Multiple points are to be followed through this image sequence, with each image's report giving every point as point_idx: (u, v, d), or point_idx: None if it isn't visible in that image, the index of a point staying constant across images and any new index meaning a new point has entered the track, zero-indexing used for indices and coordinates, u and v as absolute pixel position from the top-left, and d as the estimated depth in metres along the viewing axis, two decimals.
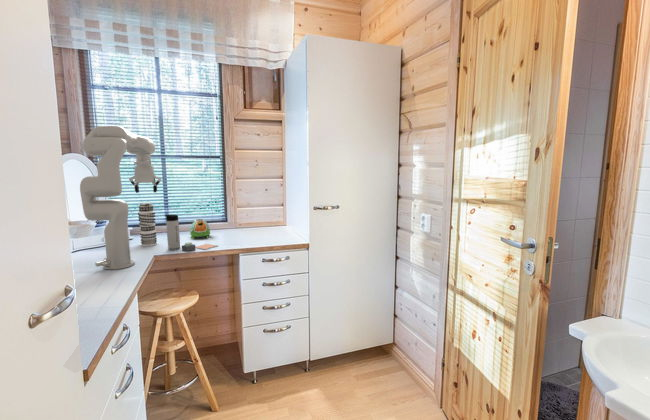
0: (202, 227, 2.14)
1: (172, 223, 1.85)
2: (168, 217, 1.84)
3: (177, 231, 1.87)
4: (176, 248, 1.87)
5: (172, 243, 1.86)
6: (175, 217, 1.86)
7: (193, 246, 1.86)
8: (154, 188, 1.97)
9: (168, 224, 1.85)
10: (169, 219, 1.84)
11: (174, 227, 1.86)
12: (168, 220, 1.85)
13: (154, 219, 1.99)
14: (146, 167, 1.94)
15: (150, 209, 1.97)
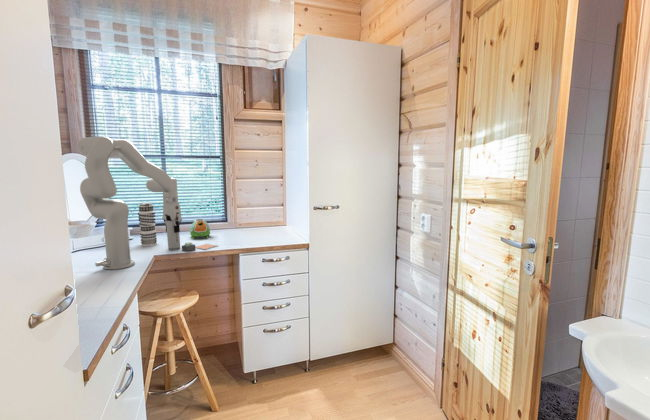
0: (202, 227, 2.14)
1: (172, 223, 1.85)
2: (168, 217, 1.84)
3: None
4: (176, 248, 1.87)
5: (172, 243, 1.86)
6: None
7: (193, 246, 1.86)
8: None
9: (168, 224, 1.85)
10: (169, 219, 1.85)
11: None
12: (168, 220, 1.85)
13: (154, 219, 1.99)
14: None
15: (150, 209, 1.97)
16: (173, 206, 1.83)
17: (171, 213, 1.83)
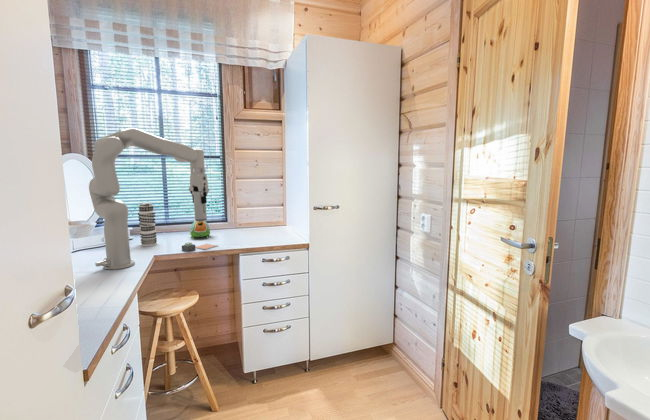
0: (202, 227, 2.14)
1: (200, 193, 1.87)
2: (195, 188, 1.86)
3: None
4: (203, 219, 1.89)
5: (199, 214, 1.88)
6: None
7: (193, 246, 1.86)
8: None
9: (195, 195, 1.87)
10: (196, 190, 1.86)
11: None
12: (195, 191, 1.86)
13: (154, 219, 1.99)
14: None
15: (150, 209, 1.97)
16: (201, 177, 1.85)
17: (199, 184, 1.85)
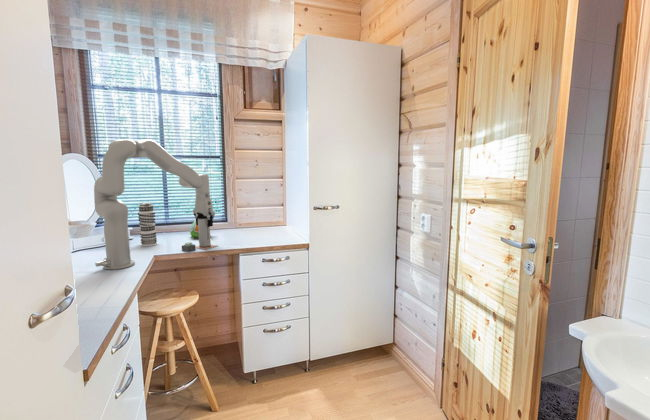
0: None
1: (204, 221, 1.89)
2: (200, 215, 1.89)
3: (208, 229, 1.92)
4: (207, 245, 1.92)
5: (203, 241, 1.91)
6: None
7: (193, 246, 1.86)
8: None
9: (200, 222, 1.89)
10: (200, 217, 1.89)
11: (205, 225, 1.90)
12: (200, 218, 1.89)
13: (154, 219, 1.99)
14: None
15: (150, 209, 1.97)
16: (206, 202, 1.87)
17: (204, 209, 1.88)
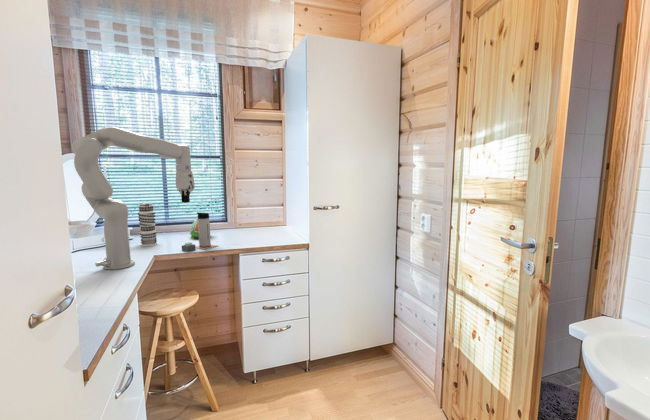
0: None
1: (204, 221, 1.89)
2: (200, 215, 1.89)
3: (208, 229, 1.92)
4: (207, 245, 1.92)
5: (203, 241, 1.91)
6: (206, 215, 1.90)
7: (193, 246, 1.86)
8: None
9: (200, 222, 1.89)
10: (200, 217, 1.89)
11: (205, 225, 1.90)
12: (200, 218, 1.89)
13: (154, 219, 1.99)
14: None
15: (150, 209, 1.97)
16: (186, 174, 1.77)
17: (184, 181, 1.78)
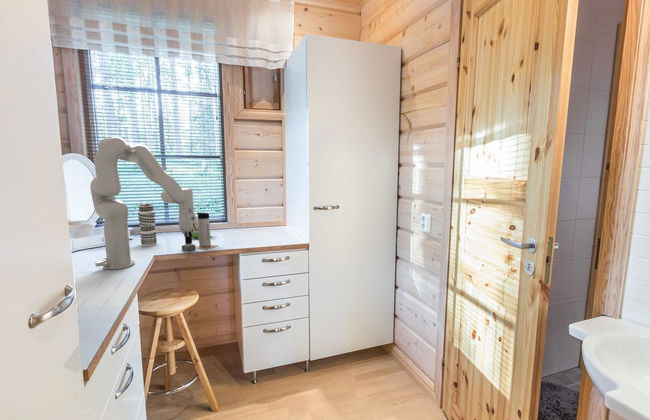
0: None
1: (204, 221, 1.89)
2: (200, 215, 1.89)
3: (208, 229, 1.92)
4: (207, 245, 1.92)
5: (203, 241, 1.91)
6: (206, 215, 1.90)
7: (193, 246, 1.86)
8: None
9: (200, 222, 1.89)
10: (200, 217, 1.89)
11: (205, 225, 1.90)
12: (200, 218, 1.89)
13: (154, 219, 1.99)
14: None
15: (150, 209, 1.97)
16: (189, 217, 1.80)
17: (187, 224, 1.81)
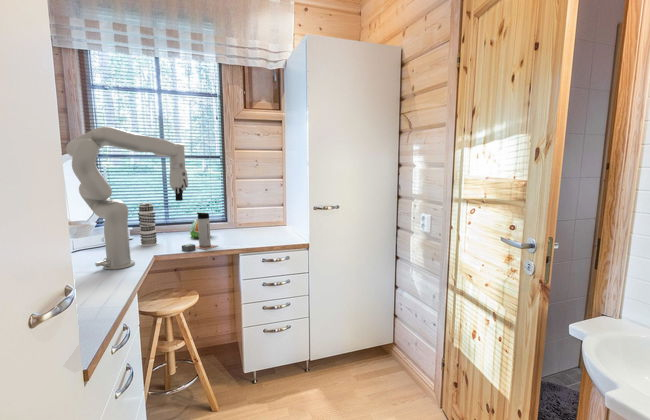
0: None
1: (204, 221, 1.89)
2: (200, 215, 1.89)
3: (208, 229, 1.92)
4: (207, 245, 1.92)
5: (203, 241, 1.91)
6: (206, 215, 1.90)
7: (193, 246, 1.86)
8: None
9: (200, 222, 1.89)
10: (200, 217, 1.89)
11: (205, 225, 1.90)
12: (200, 218, 1.89)
13: (154, 219, 1.99)
14: None
15: (150, 209, 1.97)
16: (180, 172, 1.77)
17: (178, 179, 1.77)
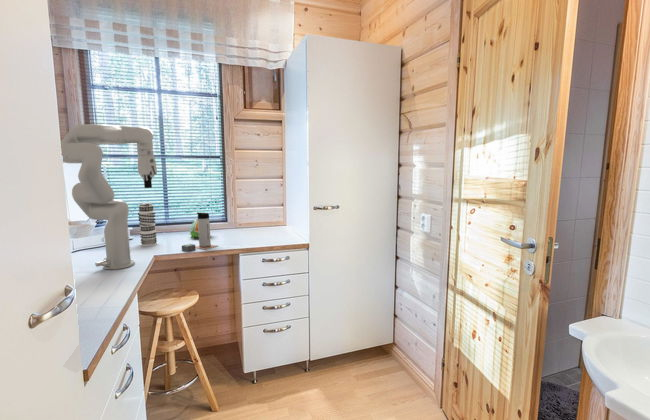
0: None
1: (204, 221, 1.89)
2: (200, 215, 1.89)
3: (208, 229, 1.92)
4: (207, 245, 1.92)
5: (203, 241, 1.91)
6: (206, 215, 1.90)
7: (193, 246, 1.86)
8: None
9: (200, 222, 1.89)
10: (200, 217, 1.89)
11: (205, 225, 1.90)
12: (200, 218, 1.89)
13: (154, 219, 1.99)
14: None
15: (150, 209, 1.97)
16: (148, 159, 1.76)
17: (146, 166, 1.76)
